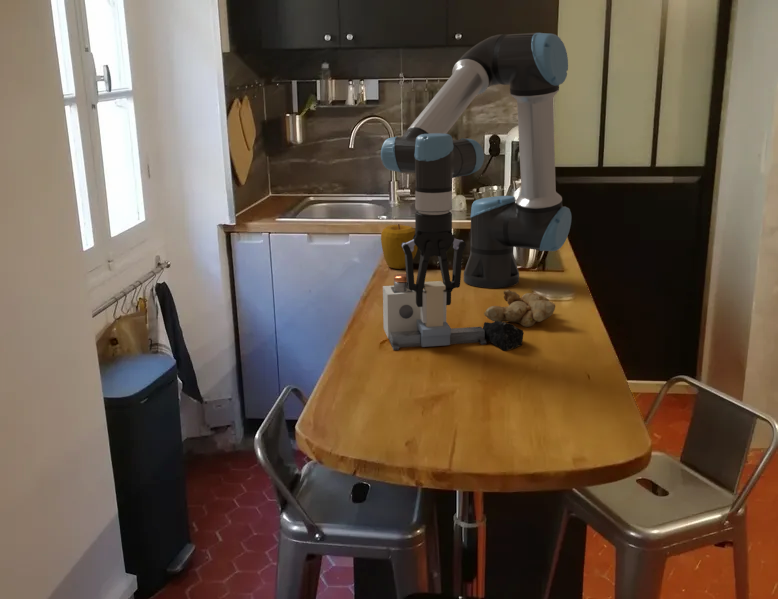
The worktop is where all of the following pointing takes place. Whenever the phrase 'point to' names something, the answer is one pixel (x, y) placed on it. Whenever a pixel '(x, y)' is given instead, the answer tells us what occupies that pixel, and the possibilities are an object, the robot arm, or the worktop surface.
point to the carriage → (434, 317)
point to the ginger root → (522, 309)
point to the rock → (503, 335)
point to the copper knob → (400, 284)
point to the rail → (455, 338)
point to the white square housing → (399, 311)
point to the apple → (396, 244)
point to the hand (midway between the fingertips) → (433, 320)
